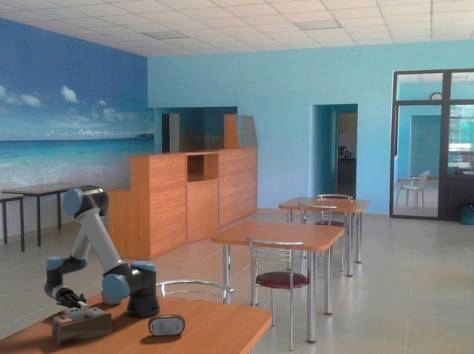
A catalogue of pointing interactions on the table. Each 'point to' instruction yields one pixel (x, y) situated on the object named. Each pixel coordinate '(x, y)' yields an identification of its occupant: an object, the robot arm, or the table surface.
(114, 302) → the teacup
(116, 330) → the table surface
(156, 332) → the tin
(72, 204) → the robot arm
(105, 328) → the wooden compartment box
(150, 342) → the table surface
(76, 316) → the pale blue knobbed block
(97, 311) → the cream dotted block
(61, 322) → the tan rectangular block
